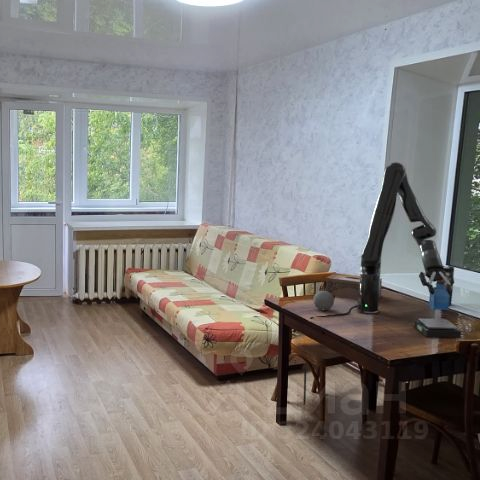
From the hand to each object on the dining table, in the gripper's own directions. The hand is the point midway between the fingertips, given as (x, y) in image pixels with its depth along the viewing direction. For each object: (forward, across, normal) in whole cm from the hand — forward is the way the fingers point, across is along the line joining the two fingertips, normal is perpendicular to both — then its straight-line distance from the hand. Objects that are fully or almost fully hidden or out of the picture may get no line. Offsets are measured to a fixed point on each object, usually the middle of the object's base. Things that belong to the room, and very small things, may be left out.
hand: (441, 293), depth 228 cm
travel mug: (-20, +21, +46) cm, 54 cm away
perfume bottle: (+4, 0, +6) cm, 7 cm away
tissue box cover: (-30, -21, +56) cm, 67 cm away
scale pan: (+9, 0, +11) cm, 15 cm away
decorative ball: (-10, -43, +36) cm, 57 cm away
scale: (+12, 0, +14) cm, 18 cm away
